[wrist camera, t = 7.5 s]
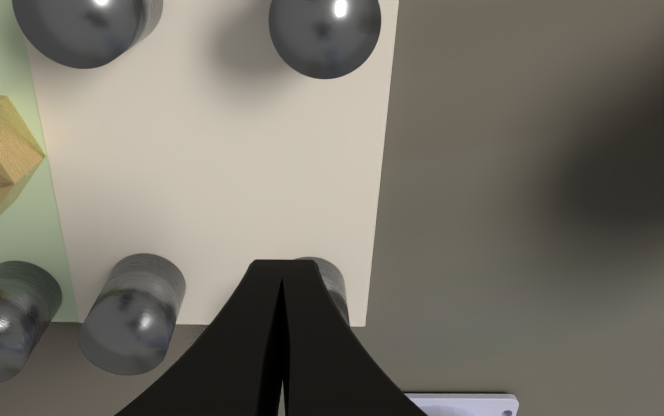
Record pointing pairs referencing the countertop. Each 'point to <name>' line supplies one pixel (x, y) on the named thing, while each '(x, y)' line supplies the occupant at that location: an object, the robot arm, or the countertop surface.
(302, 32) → the spacers
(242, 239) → the plate
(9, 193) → the faceted gold polyhedron
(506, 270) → the countertop surface
